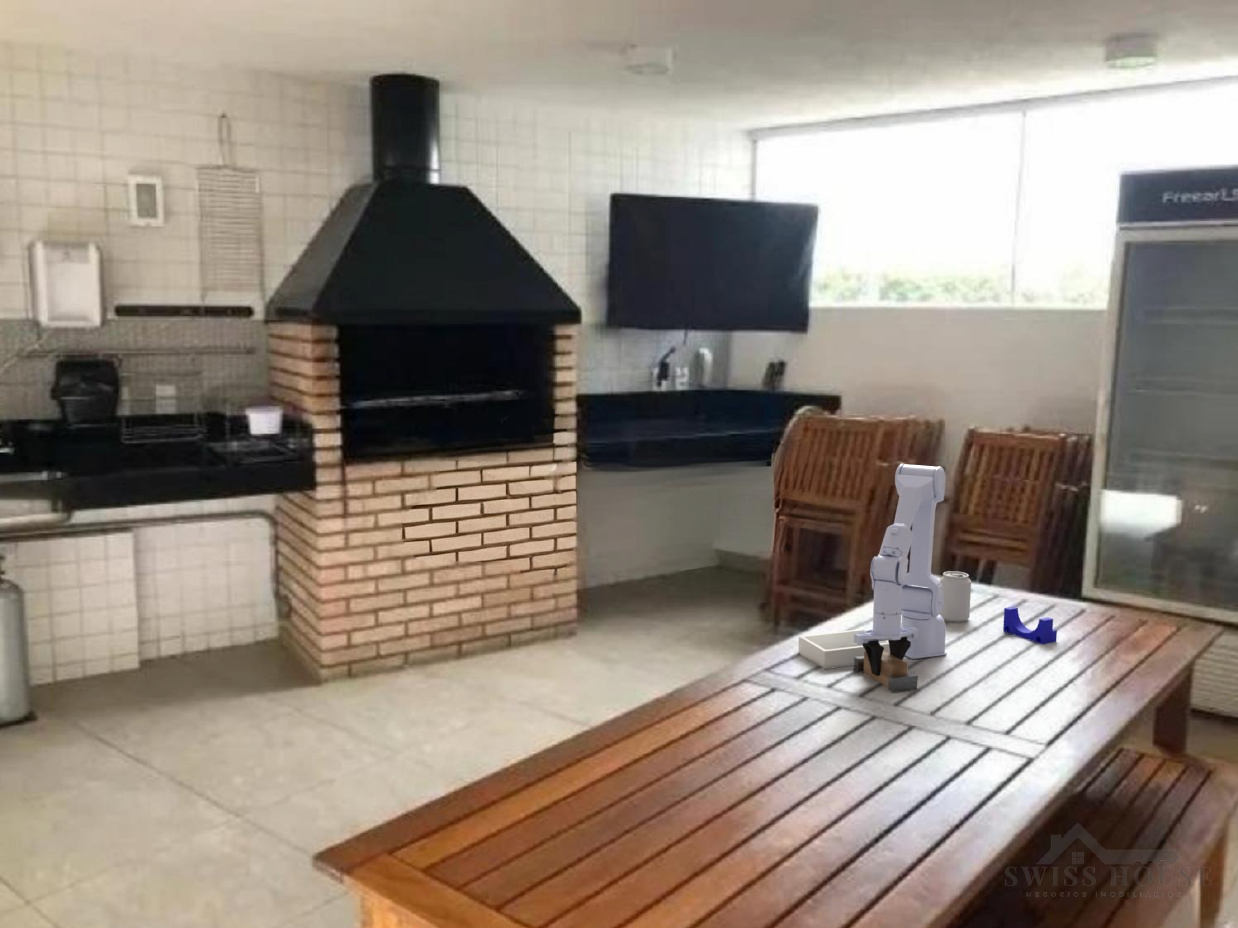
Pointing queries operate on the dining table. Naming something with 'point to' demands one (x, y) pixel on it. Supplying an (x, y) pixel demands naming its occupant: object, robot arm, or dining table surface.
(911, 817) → the dining table surface
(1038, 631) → the blue saddle bracket
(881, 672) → the wooden block
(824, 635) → the bin
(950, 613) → the can
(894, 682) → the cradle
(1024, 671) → the dining table surface
